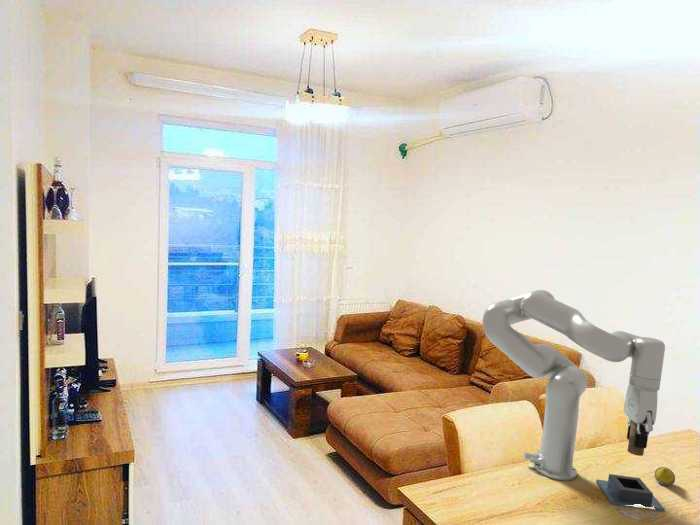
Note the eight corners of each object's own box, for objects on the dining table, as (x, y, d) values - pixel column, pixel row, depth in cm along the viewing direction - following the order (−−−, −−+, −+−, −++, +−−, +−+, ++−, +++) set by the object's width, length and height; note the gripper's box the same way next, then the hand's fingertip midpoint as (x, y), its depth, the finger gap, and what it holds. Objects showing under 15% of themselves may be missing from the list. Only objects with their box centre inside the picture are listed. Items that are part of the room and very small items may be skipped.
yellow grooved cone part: (678, 487, 155) (679, 474, 148) (660, 491, 156) (660, 479, 150) (669, 470, 159) (669, 457, 152) (651, 474, 160) (651, 461, 153)
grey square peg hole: (611, 504, 141) (612, 491, 141) (595, 481, 153) (597, 469, 153) (664, 511, 140) (666, 498, 139) (644, 488, 151) (646, 476, 151)
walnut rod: (630, 454, 143) (635, 420, 142) (625, 448, 147) (629, 415, 146) (645, 456, 143) (650, 422, 142) (639, 450, 147) (644, 416, 146)
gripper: (618, 371, 152) (611, 429, 153) (643, 389, 135) (634, 455, 137) (645, 373, 151) (637, 432, 152) (673, 393, 134) (664, 459, 136)
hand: (636, 442), depth 145 cm, fingers closed on walnut rod, 4 cm apart
